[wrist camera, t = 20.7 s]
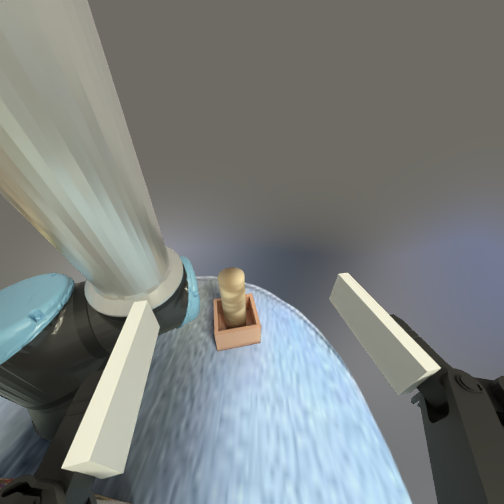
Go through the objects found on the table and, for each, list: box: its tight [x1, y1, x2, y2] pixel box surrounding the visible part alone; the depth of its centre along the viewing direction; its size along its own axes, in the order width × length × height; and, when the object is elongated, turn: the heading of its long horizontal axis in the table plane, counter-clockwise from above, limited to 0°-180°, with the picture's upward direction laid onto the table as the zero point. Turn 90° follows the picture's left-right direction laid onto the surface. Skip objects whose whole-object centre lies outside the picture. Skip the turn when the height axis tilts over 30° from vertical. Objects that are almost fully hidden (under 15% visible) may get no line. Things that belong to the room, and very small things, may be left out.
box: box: [213, 293, 261, 351], centre depth 42 cm, size 10×10×6 cm
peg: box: [218, 268, 247, 330], centre depth 39 cm, size 5×5×16 cm
